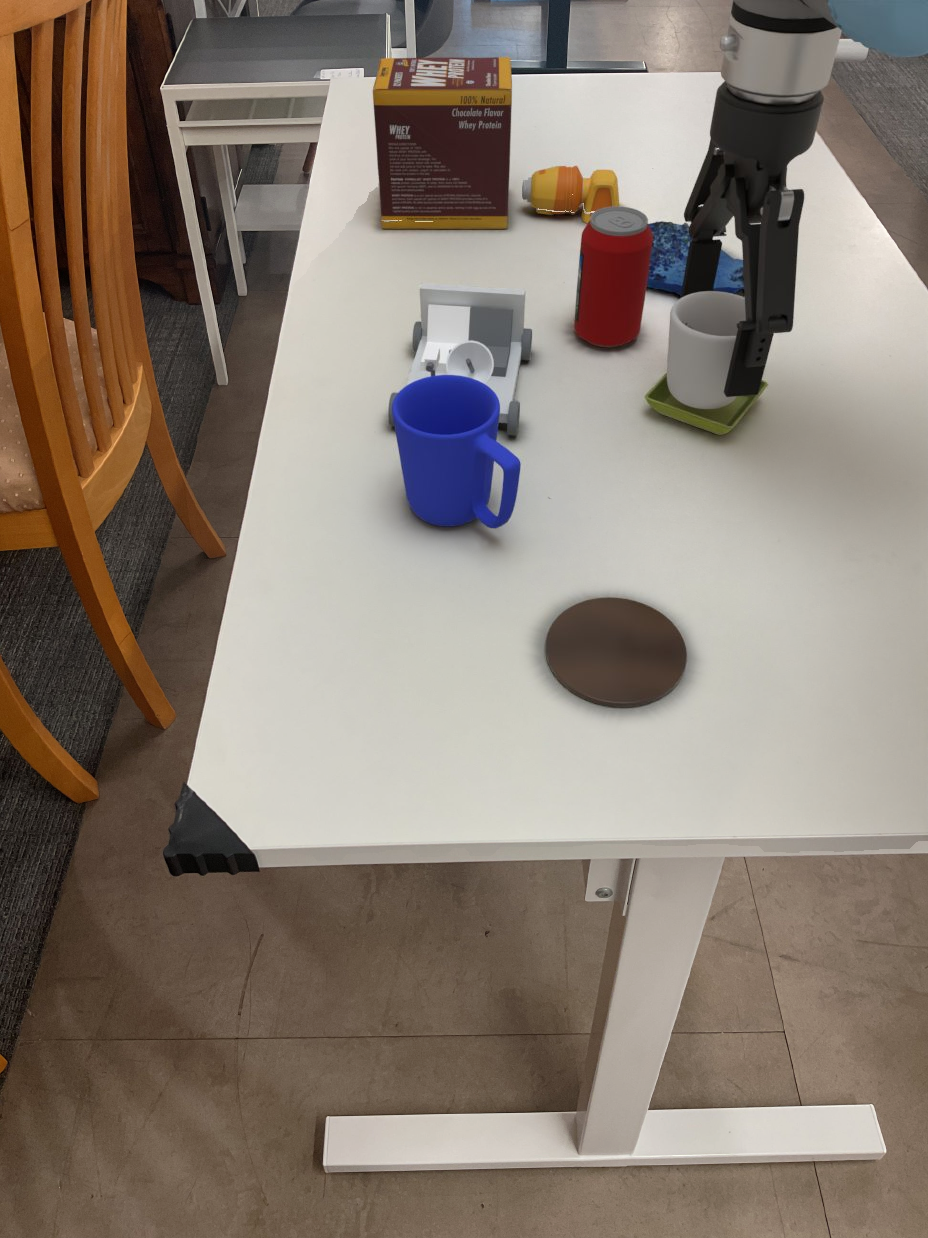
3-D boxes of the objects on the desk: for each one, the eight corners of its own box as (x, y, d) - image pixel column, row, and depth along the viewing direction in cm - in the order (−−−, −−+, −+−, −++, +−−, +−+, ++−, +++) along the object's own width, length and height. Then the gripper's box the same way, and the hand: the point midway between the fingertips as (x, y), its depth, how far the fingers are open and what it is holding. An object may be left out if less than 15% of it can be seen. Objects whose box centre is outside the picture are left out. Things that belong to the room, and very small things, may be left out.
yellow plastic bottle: (520, 222, 114) (620, 224, 113) (521, 176, 110) (625, 177, 109) (523, 203, 117) (619, 204, 116) (524, 157, 113) (624, 158, 112)
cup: (690, 347, 90) (705, 268, 85) (770, 370, 88) (791, 290, 82) (643, 402, 84) (655, 321, 78) (727, 429, 81) (746, 348, 76)
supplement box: (509, 229, 112) (512, 87, 101) (381, 229, 113) (370, 87, 101) (508, 192, 119) (511, 55, 108) (387, 192, 120) (378, 55, 108)
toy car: (516, 362, 75) (375, 352, 76) (513, 460, 82) (383, 450, 83) (536, 256, 87) (413, 249, 88) (531, 349, 94) (418, 342, 95)
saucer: (765, 400, 88) (770, 381, 86) (727, 448, 83) (732, 428, 82) (680, 372, 91) (684, 353, 90) (639, 416, 86) (642, 397, 85)
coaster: (703, 699, 64) (704, 695, 64) (560, 715, 63) (560, 710, 63) (664, 595, 71) (665, 590, 71) (534, 608, 70) (534, 603, 70)
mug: (471, 579, 72) (471, 477, 65) (380, 501, 79) (370, 400, 71) (549, 532, 76) (557, 431, 68) (455, 461, 82) (453, 361, 75)
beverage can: (605, 310, 99) (618, 196, 90) (653, 336, 96) (670, 220, 87) (559, 332, 96) (567, 216, 88) (606, 359, 93) (620, 242, 84)
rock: (665, 224, 112) (667, 208, 111) (786, 276, 104) (791, 259, 102) (583, 268, 106) (584, 252, 104) (705, 327, 97) (709, 310, 96)
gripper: (672, 33, 75) (638, 283, 91) (782, 158, 58) (717, 437, 74) (763, 29, 76) (714, 277, 91) (897, 151, 59) (809, 430, 74)
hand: (715, 349), depth 83 cm, fingers open, 13 cm apart
